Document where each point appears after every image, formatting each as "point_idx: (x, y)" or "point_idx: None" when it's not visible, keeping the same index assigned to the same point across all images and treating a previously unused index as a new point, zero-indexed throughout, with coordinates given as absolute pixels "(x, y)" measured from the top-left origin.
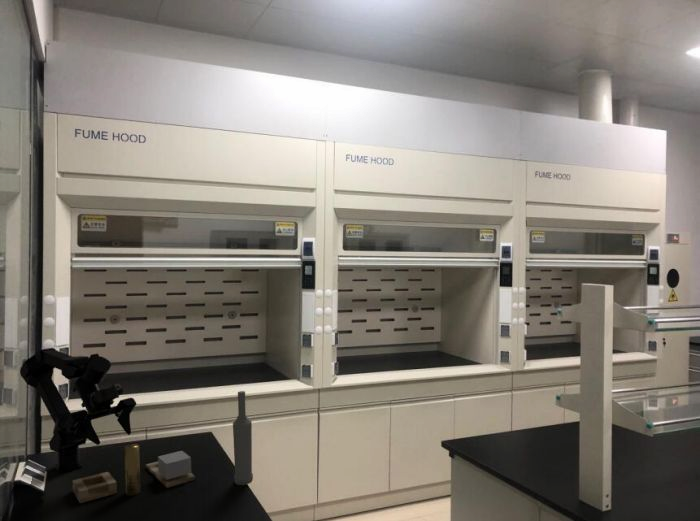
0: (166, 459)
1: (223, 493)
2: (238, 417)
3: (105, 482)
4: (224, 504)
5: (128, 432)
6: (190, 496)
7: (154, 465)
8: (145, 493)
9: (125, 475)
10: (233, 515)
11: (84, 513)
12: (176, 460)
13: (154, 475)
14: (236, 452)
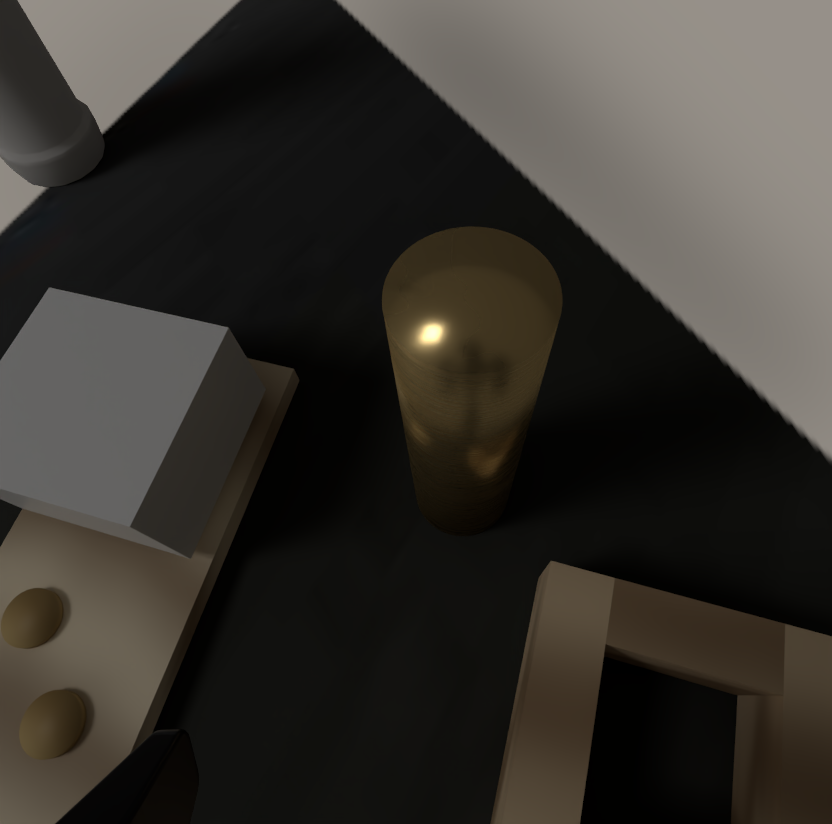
0: (154, 402)
1: (210, 135)
2: None
3: (620, 635)
4: (291, 71)
5: (175, 788)
6: (309, 211)
7: (69, 769)
8: None
9: (518, 460)
10: (341, 4)
11: (813, 473)
12: (139, 323)
13: (197, 622)
14: None
